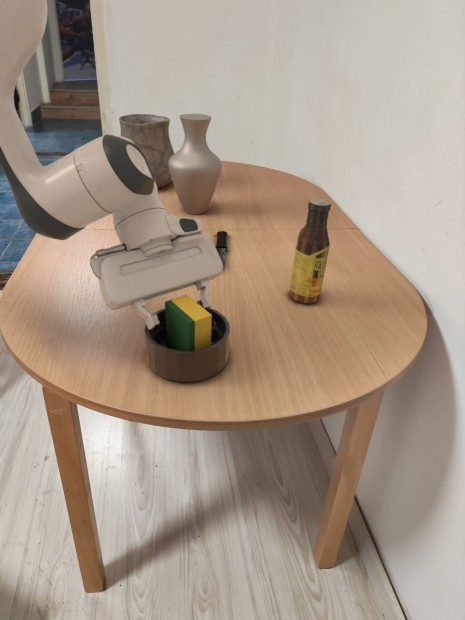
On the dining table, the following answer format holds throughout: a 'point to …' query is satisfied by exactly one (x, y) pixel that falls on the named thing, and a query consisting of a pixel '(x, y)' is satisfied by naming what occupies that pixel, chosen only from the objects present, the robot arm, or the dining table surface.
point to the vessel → (150, 142)
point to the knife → (221, 245)
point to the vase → (195, 166)
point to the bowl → (188, 362)
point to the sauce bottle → (311, 254)
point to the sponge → (187, 325)
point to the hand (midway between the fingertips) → (181, 318)
